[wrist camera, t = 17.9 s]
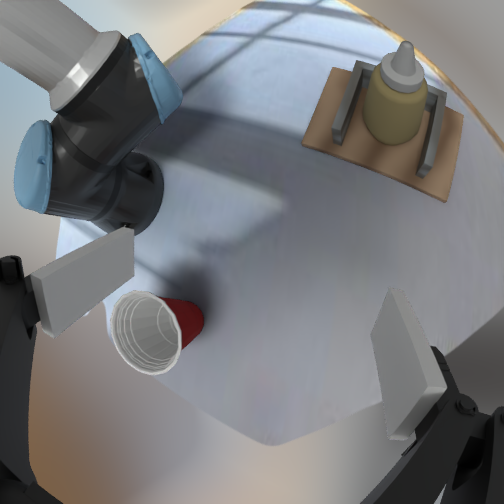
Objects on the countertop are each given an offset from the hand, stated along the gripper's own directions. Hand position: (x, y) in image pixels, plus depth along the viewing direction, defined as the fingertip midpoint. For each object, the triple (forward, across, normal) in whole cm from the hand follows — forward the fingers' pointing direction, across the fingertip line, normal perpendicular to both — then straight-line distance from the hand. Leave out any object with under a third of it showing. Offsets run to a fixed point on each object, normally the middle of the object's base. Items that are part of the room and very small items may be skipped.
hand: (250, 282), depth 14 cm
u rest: (+31, +12, +13) cm, 35 cm away
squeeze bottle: (+30, +12, +12) cm, 34 cm away
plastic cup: (+23, -12, -21) cm, 33 cm away
